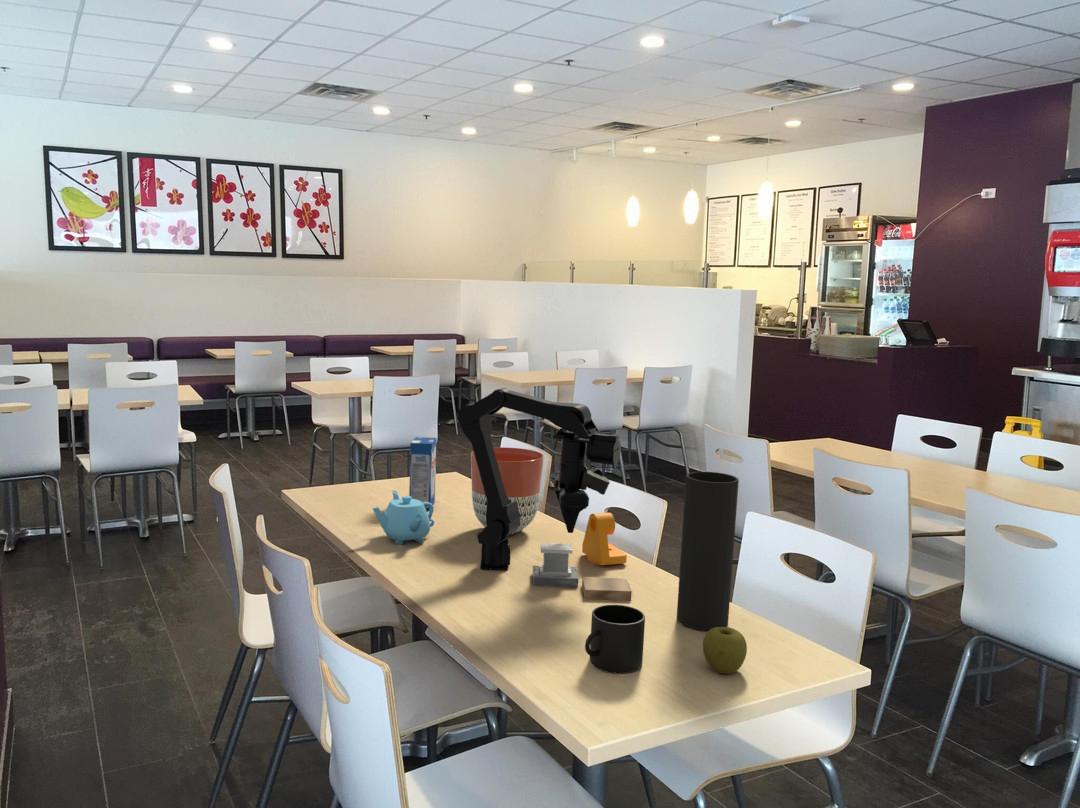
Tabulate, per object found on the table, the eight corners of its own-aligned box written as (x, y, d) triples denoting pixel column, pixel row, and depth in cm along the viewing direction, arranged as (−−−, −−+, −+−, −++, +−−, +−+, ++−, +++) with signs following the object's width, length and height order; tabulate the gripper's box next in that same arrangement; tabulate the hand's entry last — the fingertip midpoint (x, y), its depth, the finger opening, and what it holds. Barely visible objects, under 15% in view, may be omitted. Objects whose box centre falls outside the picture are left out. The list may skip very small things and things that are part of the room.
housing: (540, 575, 190) (541, 549, 189) (539, 567, 195) (540, 542, 194) (571, 576, 190) (572, 550, 189) (569, 568, 195) (571, 543, 194)
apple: (738, 660, 154) (741, 623, 153) (750, 680, 146) (753, 641, 145) (697, 659, 154) (699, 622, 153) (707, 679, 146) (710, 640, 145)
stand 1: (533, 585, 189) (533, 577, 188) (532, 573, 197) (532, 565, 196) (577, 587, 189) (578, 578, 189) (575, 575, 197) (575, 566, 197)
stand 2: (584, 598, 182) (585, 589, 182) (582, 585, 190) (582, 577, 190) (631, 600, 182) (631, 591, 182) (626, 587, 190) (626, 578, 190)
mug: (567, 662, 151) (569, 613, 149) (617, 647, 158) (620, 600, 157) (601, 682, 143) (604, 631, 142) (653, 666, 150) (656, 617, 149)
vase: (666, 618, 173) (675, 474, 169) (700, 608, 179) (710, 469, 175) (703, 635, 165) (714, 485, 161) (738, 625, 171) (749, 479, 167)
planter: (554, 536, 228) (558, 457, 225) (492, 546, 217) (495, 463, 214) (515, 518, 244) (517, 445, 241) (455, 527, 232) (457, 450, 230)
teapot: (365, 542, 216) (366, 498, 214) (392, 528, 228) (393, 487, 227) (419, 550, 211) (420, 506, 209) (443, 536, 223) (444, 494, 222)
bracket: (627, 566, 206) (630, 517, 204) (600, 568, 203) (603, 519, 201) (607, 552, 215) (610, 506, 214) (581, 555, 213) (584, 508, 211)
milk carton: (430, 510, 248) (431, 443, 245) (408, 510, 248) (410, 442, 246) (434, 502, 258) (436, 437, 255) (414, 501, 258) (415, 437, 255)
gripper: (614, 470, 182) (609, 540, 185) (602, 453, 201) (598, 517, 203) (562, 468, 182) (558, 538, 184) (556, 451, 200) (551, 515, 202)
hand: (568, 526), depth 193 cm, fingers open, 9 cm apart
